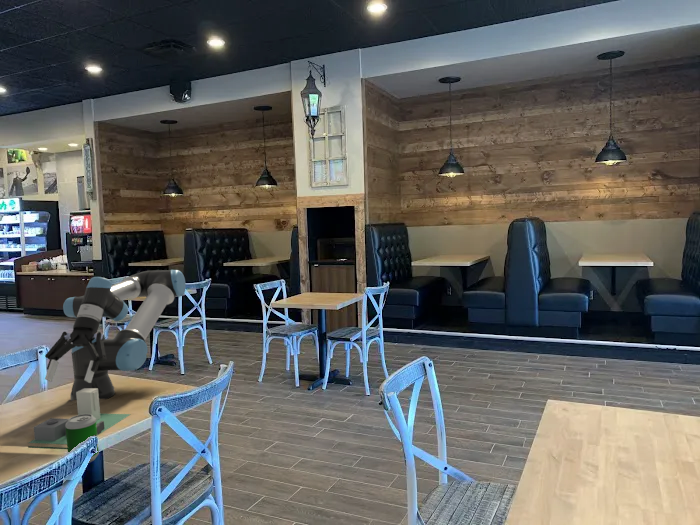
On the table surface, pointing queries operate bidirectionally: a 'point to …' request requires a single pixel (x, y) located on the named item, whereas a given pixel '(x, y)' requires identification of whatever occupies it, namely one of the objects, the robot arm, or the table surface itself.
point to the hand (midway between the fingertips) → (67, 381)
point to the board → (56, 429)
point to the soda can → (81, 431)
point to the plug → (88, 402)
